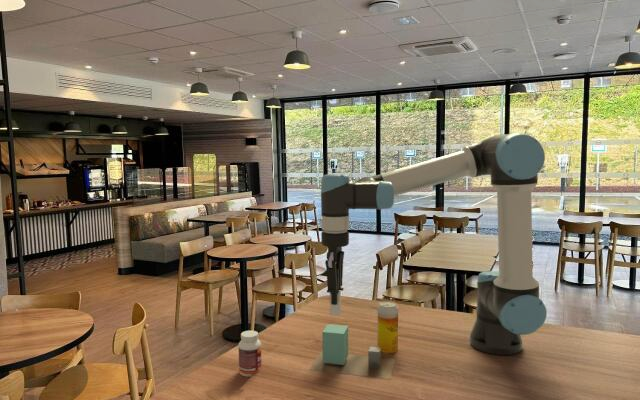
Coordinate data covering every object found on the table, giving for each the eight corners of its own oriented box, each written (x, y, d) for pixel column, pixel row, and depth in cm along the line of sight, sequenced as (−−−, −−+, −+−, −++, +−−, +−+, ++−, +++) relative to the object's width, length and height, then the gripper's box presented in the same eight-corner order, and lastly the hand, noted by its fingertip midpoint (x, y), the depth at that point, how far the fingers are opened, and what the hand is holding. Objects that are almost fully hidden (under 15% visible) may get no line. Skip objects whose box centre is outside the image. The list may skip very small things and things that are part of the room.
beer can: (397, 357, 138) (397, 308, 136) (376, 355, 139) (376, 306, 137) (398, 348, 144) (398, 301, 142) (378, 347, 145) (378, 300, 143)
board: (394, 363, 134) (395, 359, 134) (390, 383, 123) (390, 379, 122) (320, 355, 140) (320, 351, 140) (309, 373, 128) (309, 369, 128)
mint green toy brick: (348, 355, 134) (348, 325, 133) (343, 364, 128) (343, 333, 127) (327, 353, 136) (327, 323, 135) (322, 362, 130) (322, 331, 129)
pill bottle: (262, 376, 127) (262, 337, 126) (239, 378, 126) (238, 339, 124) (260, 365, 133) (259, 328, 132) (238, 368, 132) (237, 330, 130)
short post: (380, 364, 130) (380, 347, 130) (379, 369, 128) (379, 352, 127) (369, 363, 131) (370, 346, 131) (368, 368, 128) (368, 351, 128)
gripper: (327, 226, 135) (327, 305, 138) (315, 234, 123) (316, 321, 125) (353, 227, 133) (352, 307, 136) (343, 235, 121) (343, 324, 123)
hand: (335, 314), depth 131 cm, fingers closed
